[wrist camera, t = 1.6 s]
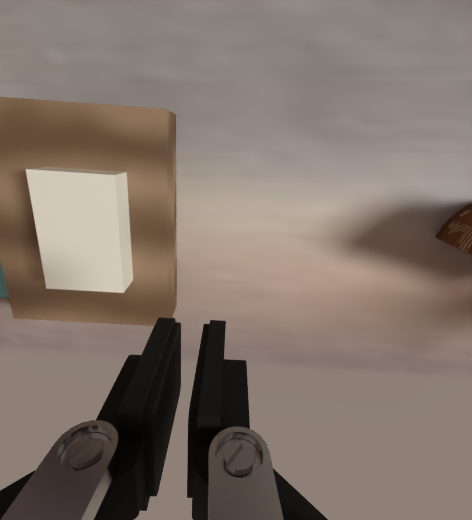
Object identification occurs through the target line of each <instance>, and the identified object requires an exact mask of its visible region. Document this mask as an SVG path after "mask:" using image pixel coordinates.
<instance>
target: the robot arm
mask: <svg viewBox="0 0 472 520" xmlns="http://www.w3.org/2000/svg"><path fill="white" fill-rule="evenodd" d="M225 325H226V321H217V320H210V324H204V326H203V332H202V338H201V344H200V350H199V356H198V361H197V367H196V373H195V379H194V385H193V390H192V397H191V402H190V409H189V419H188V476H187V477H188V479H187V497H188V498H193V499H192V518H193V520H328V519H326V517H324V516H323V515H322V514H321V513H320V512H319V511H318V510H317V509H316V508H315V507H314V506H313V505H312V504H311V503H309V502H308V501H307V500H306V499H305V498H304V497H303V496H302V495H301V494H300V493H299V492H298V491H297V490H296V489H295V488H293V487H292V486H291V485H290V484H289V483H288V482H287V481H286V480H285V479H284V478H283V477H282V476H281V475H280V474H278V473H277V472H276V471H275V470H274V469H273V467H272V462H271V457H270V453H269V450H268V447H267V444H266V442H265V441H264V440H263V438H262V437H261V436H260V435H259V434H257V433H256V432H255V431H253V430H251V429H250V424H249V406H248V386H247V366H246V361H245V360H226V359H224V344H225ZM180 387H181V323H177V322H175V318H163V317H159V318H158V319H157V322H156V324H155V326H154V328H153V331H152V333H151V335H150V337H149V340H148V342H147V344H146V346H145V349H144V351H143V353H142V355H129V356H128V358H127V359H126V361H125V363H124V366H123V367H122V369H121V371H120V373H119V375H118V377H117V379H116V382H115V383H114V385H113V387H112V389H111V391H110V393H109V395H108V397H107V399H106V401H105V403H104V405H103V407H102V409H101V411H100V413H99V415H98V417H97V419H96V420H91V421H87V422H83V423H80V424H78V425H76V426H74V427H72V428H70V429H69V430H68V431H67V432H65V433H64V434H62V436H61V437H60V438H59V439H58V440H57V441H56V442H55V444H54V445H53V447H52V448H51V449H50V451H49V452H48V454H47V455H46V456H45V458H44V459H43V461H42V462H41V463H40V465H39V466H38V468H37V469H36V470H35V471H33V472H31V473H30V474H28V475H26V476H25V477H23V478H21V479H20V480H18V481H16V482H14V483H13V484H11V485H9V486H8V487H6V488H4V489H2V490H1V491H0V520H134V519H135V518H136V517H137V516H138V515H139V511H140V510H142V511H146V510H147V507H148V502H149V498H150V496H157V493H158V490H159V485H160V480H161V476H162V472H163V467H164V462H165V458H166V453H167V449H168V444H169V440H170V435H171V431H172V426H173V422H174V417H175V412H176V408H177V404H178V399H179V395H180Z"/></svg>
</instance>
